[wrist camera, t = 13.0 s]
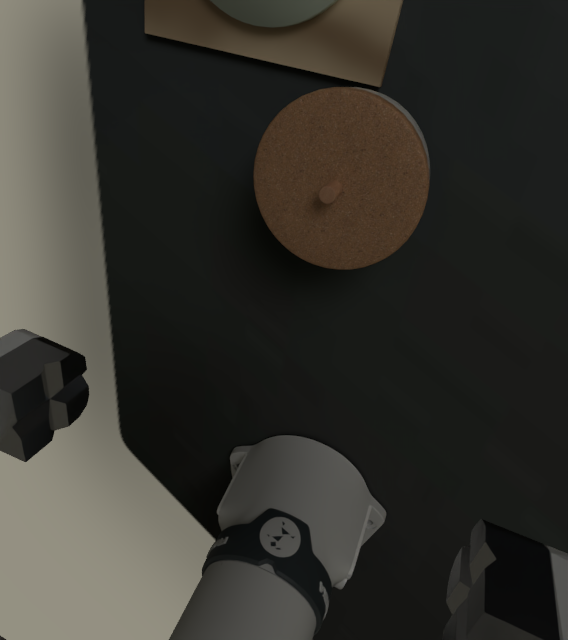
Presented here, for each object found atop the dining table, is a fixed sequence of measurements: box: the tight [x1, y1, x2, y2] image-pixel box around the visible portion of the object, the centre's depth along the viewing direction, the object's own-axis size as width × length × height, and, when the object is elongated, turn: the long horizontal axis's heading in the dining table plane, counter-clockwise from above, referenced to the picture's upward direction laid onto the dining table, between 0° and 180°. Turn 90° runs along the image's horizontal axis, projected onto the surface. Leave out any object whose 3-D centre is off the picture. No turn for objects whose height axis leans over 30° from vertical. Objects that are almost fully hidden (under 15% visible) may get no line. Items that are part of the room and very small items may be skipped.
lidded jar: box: [253, 87, 430, 270], centre depth 30 cm, size 11×11×9 cm
